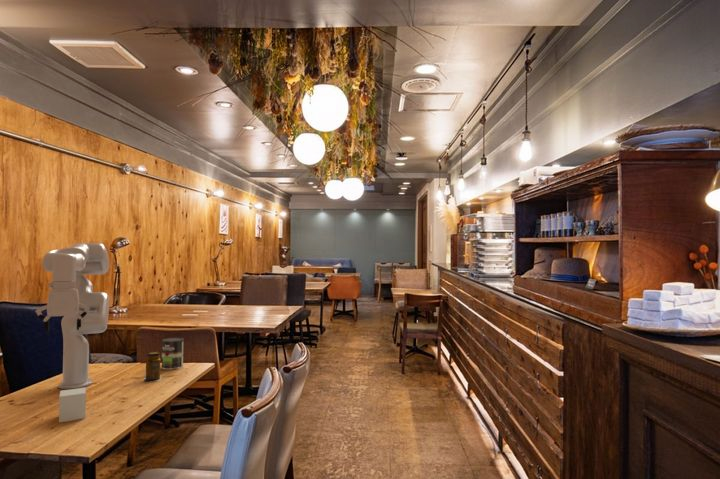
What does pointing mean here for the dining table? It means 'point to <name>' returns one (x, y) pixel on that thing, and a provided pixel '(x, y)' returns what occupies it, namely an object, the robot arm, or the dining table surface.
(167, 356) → the coffee can
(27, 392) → the dining table surface
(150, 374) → the condiment
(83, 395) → the matte cream cube
